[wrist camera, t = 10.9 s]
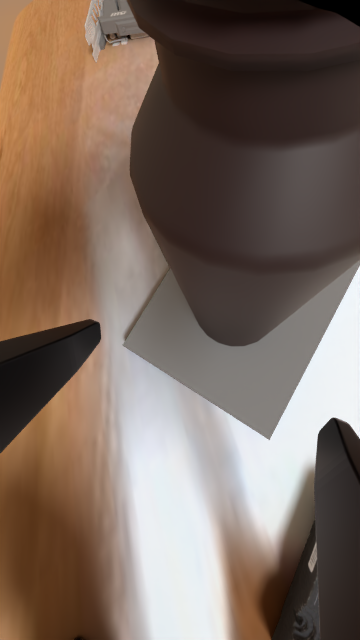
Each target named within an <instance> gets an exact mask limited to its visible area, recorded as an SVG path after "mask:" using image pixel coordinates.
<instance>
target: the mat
mask: <svg viewBox="0 0 360 640" xmlns="http://www.w3.org/2000/svg"><path fill="white" fill-rule="evenodd" d="M359 266H360V261H358V262H357V263H356V264H355V265H353V266H352V267H351V268H350V269H348V270H347V271H346V272H345V273H343V274H342V275H341V276H340V277H338V278H337V279H336V280H335V281H333V282H332V283H331V284H330V285H328V286H327V287H326V288H325V289H323V290H322V291H321V292H319V293H318V294H317V295H316V296H314V297H313V298H312V299H311V300H309V301H308V302H307V303H306V304H304V305H303V306H302V307H301V308H299V309H298V310H297V311H296V312H294V313H293V314H292V315H291V316H289V317H288V318H287V319H286V320H284V321H283V322H282V323H281V324H279V325H278V326H277V327H276V328H274V329H273V330H272V331H271V332H269V333H268V334H267V335H266V336H264V337H263V338H262V339H260V340H259V341H258V342H255V343H252V344H249V345H247V346H232V347H231V346H227V345H224V344H220V343H218V342H216V341H215V340H213V339H212V338H210V337H209V336H207V335H206V333H205V332H204V331H203V330H202V328H201V327H200V326H199V324H198V322H197V320H196V318H195V316H194V314H193V312H192V310H191V308H190V306H189V304H188V302H187V300H186V298H185V296H184V294H183V292H182V290H181V288H180V286H179V284H178V282H177V280H176V278H175V276H174V274H173V272H172V270H171V268H170V269H169V271H168V272H167V274H166V276H165V277H164V279H163V281H162V282H161V284H160V285H159V287H158V289H157V290H156V292H155V294H154V295H153V297H152V298H151V300H150V302H149V303H148V305H147V307H146V308H145V310H144V311H143V313H142V315H141V316H140V318H139V319H138V321H137V323H136V324H135V326H134V328H133V329H132V331H131V332H130V334H129V336H128V337H127V339H126V341H125V342H124V344H123V346H124V347H126V348H128V349H129V350H131V351H132V352H134V353H135V354H137V355H138V356H140V357H142V358H143V359H145V360H146V361H148V362H149V363H151V364H152V365H154V366H155V367H157V368H159V369H160V370H162V371H163V372H165V373H166V374H168V375H169V376H171V377H173V378H174V379H176V380H177V381H179V382H180V383H182V384H183V385H185V386H187V387H188V388H190V389H191V390H193V391H194V392H196V393H197V394H199V395H201V396H202V397H204V398H205V399H207V400H208V401H210V402H211V403H213V404H215V405H216V406H218V407H219V408H221V409H222V410H224V411H225V412H227V413H228V414H230V415H232V416H233V417H235V418H236V419H238V420H239V421H241V422H242V423H244V424H246V425H247V426H249V427H250V428H252V429H253V430H255V431H256V432H258V433H260V434H261V435H263V436H264V437H266V438H267V439H269V440H270V438H271V436H272V434H273V432H274V430H275V428H276V426H277V424H278V422H279V420H280V418H281V416H282V415H283V413H284V411H285V409H286V407H287V405H288V403H289V401H290V399H291V397H292V395H293V393H294V391H295V389H296V387H297V386H298V384H299V382H300V380H301V378H302V376H303V374H304V372H305V370H306V368H307V366H308V364H309V362H310V360H311V358H312V357H313V355H314V353H315V351H316V349H317V347H318V345H319V343H320V341H321V339H322V337H323V335H324V333H325V331H326V329H327V328H328V326H329V324H330V322H331V320H332V318H333V316H334V314H335V312H336V310H337V308H338V306H339V304H340V302H341V300H342V299H343V297H344V295H345V293H346V291H347V289H348V287H349V285H350V283H351V281H352V279H353V277H354V275H355V273H356V271H357V269H358V268H359Z"/></svg>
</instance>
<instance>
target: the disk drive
mask: <svg viewBox="0 0 360 640" xmlns="http://www.w3.org/2000/svg"><path fill="white" fill-rule="evenodd" d="M272 640H320V625H319V599H318V573H317V547H316V521H314V523H313V526H312V529H311V531H310V535H309V538H308V540H307V543H306V546H305V549H304V551H303V554H302V556H301V559H300V562H299V565H298V568H297V570H296V573H295V576H294V579H293V581H292V584H291V586H290V589H289V592H288V595H287V598H286V600H285V603H284V606H283V609H282V613H281V617H280V620H279V622H278V625H277V626H276V629H275V632H274V634H273V637H272Z"/></svg>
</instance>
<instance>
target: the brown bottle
mask: <svg viewBox="0 0 360 640" xmlns="http://www.w3.org/2000/svg"><path fill="white" fill-rule="evenodd" d="M127 3H128V5H129V7H130V9H131V11H132V14H133V16H134V18H135V20H136V22H137V25H138V27H139V28H140V29H141V30H142V31H144V32H145V33H146V34H148V35H149V36H150V37H151V38H153V39H154V40H155V45H156V50H157V55H158V60H159V64H158V67H157V69H156V71H155V74H154V76H153V79H152V81H151V83H150V86H149V88H148V91H147V93H146V95H145V98H144V100H143V103H142V105H141V108H140V110H139V113H138V115H137V118H136V120H135V123H134V125H133V129H132V134H131V154H130V176H131V179H132V183H133V186H134V188H135V191H136V194H137V197H138V200H139V203H140V206H141V209H142V212H143V215H144V217H145V219H146V221H147V223H148V225H149V227H150V229H151V231H152V233H153V235H154V237H155V239H156V241H157V243H158V245H159V247H160V249H161V251H162V253H163V255H164V257H165V259H166V261H167V262H168V264H169V266H170V268H171V270H172V272H173V274H174V276H175V278H176V280H177V282H178V284H179V286H180V288H181V290H182V292H183V294H184V296H185V298H186V300H187V302H188V304H189V306H190V308H191V310H192V312H193V314H194V316H195V318H196V320H197V322H198V324H199V326H200V327H201V328H202V330H203V331H204V332H205V333H206V335H207V336H209V337H210V338H212V339H213V340H215V341H216V342H218V343H220V344H224V345H227V346H231V347H232V346H247V345H249V344H252V343H255V342H258V341H259V340H260V339H262V338H263V337H264V336H266V335H267V334H268V333H269V332H271V331H272V330H273V329H274V328H276V327H277V326H278V325H279V324H281V323H282V322H283V321H284V320H286V319H287V318H288V317H289V316H291V315H292V314H293V313H294V312H296V311H297V310H298V309H299V308H301V307H302V306H303V305H304V304H306V303H307V302H308V301H309V300H311V299H312V298H313V297H314V296H316V295H317V294H318V293H319V292H321V291H322V290H323V289H325V288H326V287H327V286H328V285H330V284H331V283H332V282H333V281H335V280H336V279H337V278H338V277H340V276H341V275H342V274H343V273H345V272H346V271H347V270H348V269H350V268H351V267H352V266H353V265H355V264H356V263H357V262H358V261H360V0H127Z"/></svg>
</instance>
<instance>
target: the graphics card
mask: <svg viewBox="0 0 360 640" xmlns="http://www.w3.org/2000/svg"><path fill="white" fill-rule="evenodd" d="M94 3H95V4H96V6H97V8H98V11H99V17H97V18H98V21H97V22H96V25H97V26H96V25H95V23H94V21H93V19H92V17H91V14H92V15H93V17H94V19H95V21H96V20H97V18H96V16H95V14H94V12H93V9H94V11H95V12H96V14H97V15H98V12H97V10H96V8H95V6H94ZM99 6H101V9H100V10H99V7H98V1H97V0H96V1H95V0H92V1H91V4H90V8H89V12H88V15H87V19H86V23H85V30H86V35H85V37H86V40H87V42H88V44H89V46H90V43H91V44H92V47H93V53H92V55H93V57H94V60H95V62H97V59H98V55H99V51H101V50H103V49H104V48H105V45H106V41H108V40H107V37H108V35H107V34H109V35H110V38H111V39H114V38H116V36H117V37H118V38H121V37H122V39H118V40H114V41H111V42H110V41H108V42H109V43H113V42H116V43H113V46H117V45H119V43H120V42H117V41H122V42H121V44H122V45H123V44H127V42H128V37H127V38H126V36H125V35H130V37H131V39H135V38H141V37H147V36H149V35H148V34H146V33H145V32H144V31H142V30H141V29H140V28H139V27H138V25H137V22H136V20H135V18H134V16H133V14H132V11H131V9H130V7H129V5H128V3H127V0H99ZM89 19H90V20H89ZM90 25H91V26H90ZM89 26H90V27H89ZM92 26H93V27H92ZM88 27H89V28H88ZM91 27H92V28H91ZM90 28H91V29H90ZM93 28H94V29H93ZM89 29H90V30H89ZM92 29H93V30H92ZM89 33H90V34H89ZM90 35H91V36H90ZM92 36H93V37H92ZM91 37H92V38H91Z"/></svg>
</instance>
